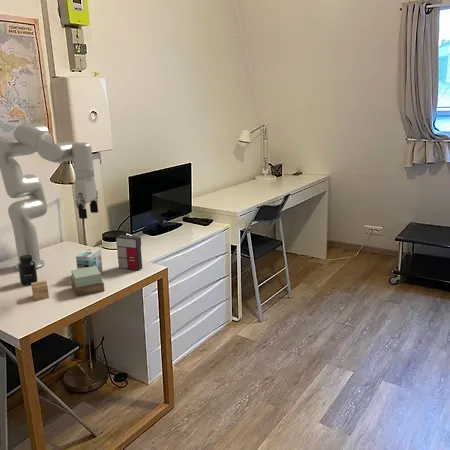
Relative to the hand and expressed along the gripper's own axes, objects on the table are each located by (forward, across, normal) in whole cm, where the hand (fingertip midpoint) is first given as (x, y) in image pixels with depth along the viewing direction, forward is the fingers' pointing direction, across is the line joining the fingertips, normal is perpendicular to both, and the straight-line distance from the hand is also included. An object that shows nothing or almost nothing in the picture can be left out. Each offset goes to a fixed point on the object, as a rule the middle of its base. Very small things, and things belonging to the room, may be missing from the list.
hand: (89, 215), depth 188 cm
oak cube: (+29, +17, -16) cm, 37 cm away
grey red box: (+30, -17, +8) cm, 35 cm away
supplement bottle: (+29, +5, -29) cm, 41 cm away
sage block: (+26, +8, 0) cm, 27 cm away
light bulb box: (+30, -6, -6) cm, 31 cm away
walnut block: (+30, +8, 0) cm, 31 cm away
